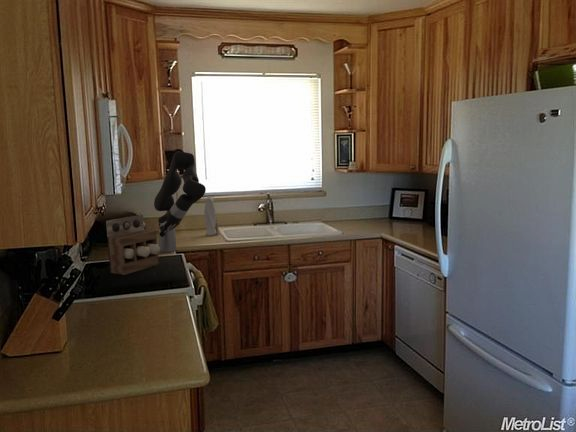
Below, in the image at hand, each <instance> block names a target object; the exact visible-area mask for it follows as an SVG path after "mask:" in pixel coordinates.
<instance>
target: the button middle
mask: <svg viewBox="0 0 576 432" xmlns="http://www.w3.org/2000/svg"><path fill="white" fill-rule="evenodd" d="M149 254H150V249H149V247H144V246H136V256H143V257H147V256H149Z"/></svg>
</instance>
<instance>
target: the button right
mask: <svg viewBox="0 0 576 432" xmlns="http://www.w3.org/2000/svg"><path fill="white" fill-rule="evenodd" d="M146 247H149V249H150V254H158V255H159V252H161V251H160V247H159V244H158V243H157V244H148V243H146Z"/></svg>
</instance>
